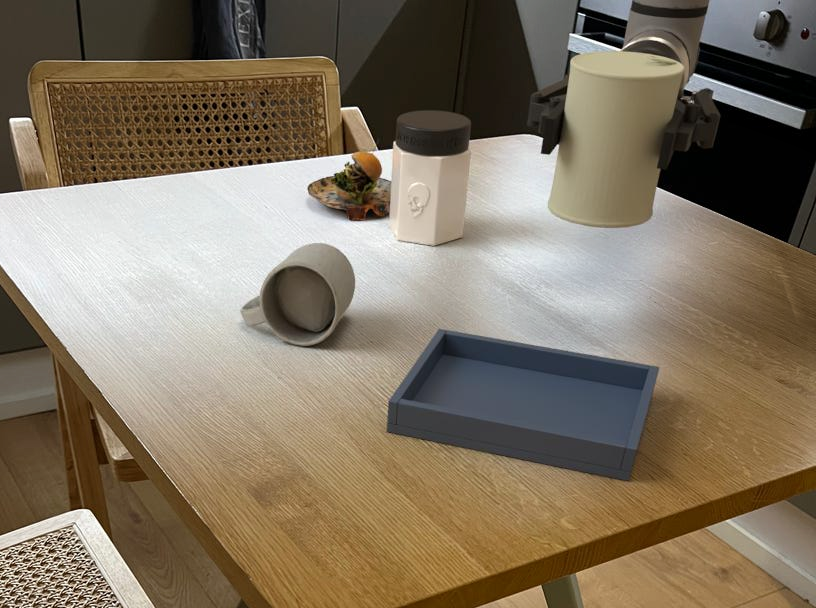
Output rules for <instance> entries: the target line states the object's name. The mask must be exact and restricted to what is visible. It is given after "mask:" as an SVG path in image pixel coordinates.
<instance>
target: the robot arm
mask: <svg viewBox="0 0 816 608" xmlns="http://www.w3.org/2000/svg"><path fill="white" fill-rule="evenodd" d="M710 1H711V0H632V1H631V6H630V9H629V13H628V18H627V24H626V28H625V34H624V40H623V45H622V48H621V49H620V50H619V51H624V52H637V53H645V54H652V55H657V56H662V57H666V58H670V59H673V60H675V61H678V62H680V63H681V64H682V65H683V66H684V68H685V71H684V73H683V76H682V80H681V84H680V88H679V92H678V96H677V100H676V104H675V108H674V112H673V117H672V119H671V120H670V122H669V124H668V127H667V129H666V131H665V134H664V138H663V143H662V147H661V151H660V156H659V160H658V165H657V168H658V169H660V170H667V169H668V166H669V164H670V162H671V159H672V157H673V155H674V153H675V151H676V152H677V151H678V152H688V150H689V149H690V148H691V145H692V143H694V142H696V144H697V146H698V147H700V148H702V149H705V150H707V149H712V148H713V147H714V142H715V139H716V135H717V131H718V128H719V124H720V119H721V114H720V112H719V110H718V108H717V106H716V105H715V102H714V100H713V96H714V92H715V91H714V90H713V89H711V88H708V87H705V88H702V89H699V91H697V90H692V92H691V93H690V94H691V95H690V96H688V95H684V91H685V89H686V86H687V84H688V83H689V82H690V78H691V77H692V76H694V73H695V72H696V68H697V65H698V60H699V56H700V50H701V48H700V41H701V39H702V33H703V30H704V25H705V20H706V15H707V14H708V9H709V4H710ZM569 75H570V73H568V74H564V76H563V79H561V80H559V81H557V82H555V83H553V84H551V85H549V86H546V87H544V88H542V89H539V90H537V91H536V92H533V93H531V94H530V101H529V108H528V116H527V123H526V126H528V127H530V128H533V129H534V128H535V129H536V128H538V129H537V130H538V134H540V135H541V134H542V143H541V150H540V154H541V155H547V156H550V155H551V154H552V152H553V151H554V150H555V148H556V147H557V146H559V142H560V136H561V129H562V123H563V116H564V110H565V103H566V96H567V89H568V82H569Z"/></svg>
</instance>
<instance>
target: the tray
mask: <svg viewBox="0 0 816 608" xmlns="http://www.w3.org/2000/svg"><path fill="white" fill-rule="evenodd" d="M659 371H660V366H657V365H650V364H645V363H640V362H634V361H629V360H622V359H618V358H617V359H616V358H610V357H606V356H605V357H604V356H599V355H593V354H588V353H581V352H575V351H571V350H564V349H559V348H553V347H548V346H542V345H535V344H530V343H523V342H517V341H512V340H507V339H501V338H495V337H490V336H484V335H478V334H472V333H466V332H461V331H455V330H449V329H443V328H438V329H437V331H436V332H435V333H434V335H433V337H432V338H431V339H430V341H429V343H428V344H427V345H426V347H425V348H424V349H423V351H422V352H421V354H420V355H419V356H418V358H417V359H416V361H415V362H414V364H413V365H412V367H411V368H410V369H409V371H408V373H407V374H406V376H405V377H404V378H403V380H402V381H401V382H400V384H399V386H397V388H396V390H395V391H394V393H393V394H392V395H391V396H390V398H389V400H388V401H387V402H388V403H387V418H386V419H387V420H386V421H387V422H386V432H387V433H391V434H396V435H400V436H401V435H402V436H405V437H411V438H416V439H421V440H426V441H430V442H431V441H432V442H435V443H440V444H445V445H450V446H455V447H459V448H465V449H470V450H474V451H479V452H484V453H489V454H495V455H499V456H504V457H507V458H508V457H509V458H513V459H514V458H515V459H517V460H522V461H523V460H524V461H529V462H532V463H533V462H534V463H539V464H543V465H547V466H553V467H557V468H563V469H567V470H573V471H578V472H582V473H587V474H593V475H597V476H602V477H606V478H612V479H616V480H620V481H621V480H622V481H626V482H629V481H630V478H631V475H632V472H633V467H634V464H635V460H636V457H637V453H638V450H639V446H640V441H641V438H642V435H643V431H644V428H645V423H646V420H647V416H648V412H649V409H650V406H651V403H652V398H653V394H654V391H655V386H656V383H657V379H658V374H659Z"/></svg>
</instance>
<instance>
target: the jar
mask: <svg viewBox="0 0 816 608" xmlns="http://www.w3.org/2000/svg"><path fill="white" fill-rule="evenodd" d="M471 128H472V121H471V119H469V118H468V117H466V116H464V115H463V114H459V113H456V112H451V111H446V110H445V111H444V110H414V111H408V112H405V113H402V114H400V115H399V116H398V117H397V119H396V128H395V140H394V141H393V144H392V160H391V161H392V162H391V178H390V179H391V180H390V181H391V198H390V214H389V220H388V221H389V222H388V226H389V228H390V230H391V231H392V234H393V236H394V237H395V239H396V240H397V241H398V242H399V241H400V242H405V243H413V244H419V245H426V246H431V247H435V246H438V245H441V244H445V243H449V242H452V241H455V240H458V239H461V238H463V235H464V224H465V215H466V206H467V196H468V187H469V179H470V178H469V177H470V168H471V157H472V151H471V150H470V148H469V147H470V139H471V138H470V137H471Z"/></svg>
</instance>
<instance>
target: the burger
mask: <svg viewBox="0 0 816 608" xmlns="http://www.w3.org/2000/svg"><path fill="white" fill-rule="evenodd" d="M379 140H380V138H378V139H377V142H376V144H375V147H374V148H373V151H372V152H368V151H356V152H354V153H352V154H351V155H350V156H351V159H352V161H353V162H354V163H351V161H347V162H346V163H344V167H345V168H344V169H343V170H341V171H339V172H335V173H333V175H330V176H326V177H322V178H319V179H317V180H315V181H312V182H311V183H309V184H308V185H307V188H306V190H307V193H308V194H309V196H311V197H312V198H313V199H315V200H316V201H318V203H320V204H323V206H326V207H329V208H332V209H338V210H343V211H346V214H347V218H348V221H350V222H352V221H355V220H356V221H358V220H359V221H365V220H366V213H367V212H368V211H369V210H372V211H373V212H374V213H375V214H376V215H377V216H378V217H385V215H386V214H388V215H390V198H391V180H388V179H386V178H383V177H381V175H382V173H383V166H382V163H381V161H380V160H379V159H378V157H377V156H375V154H374V152H375V150H376V147H377V146H378V144H379Z"/></svg>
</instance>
